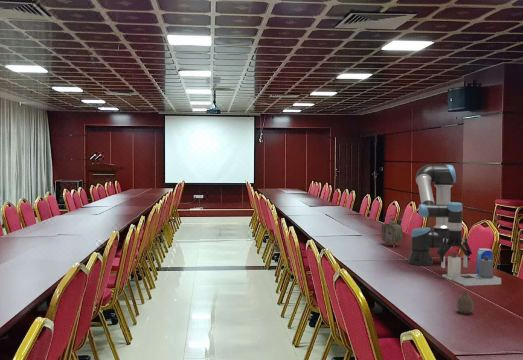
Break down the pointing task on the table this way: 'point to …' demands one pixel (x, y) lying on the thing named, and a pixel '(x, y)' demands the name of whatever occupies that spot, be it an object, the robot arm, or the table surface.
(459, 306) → the grey rounded lump
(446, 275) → the tray
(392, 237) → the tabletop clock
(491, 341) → the table surface
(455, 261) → the plug
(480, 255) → the beer can
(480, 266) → the twin plug
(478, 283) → the metal socket frame
